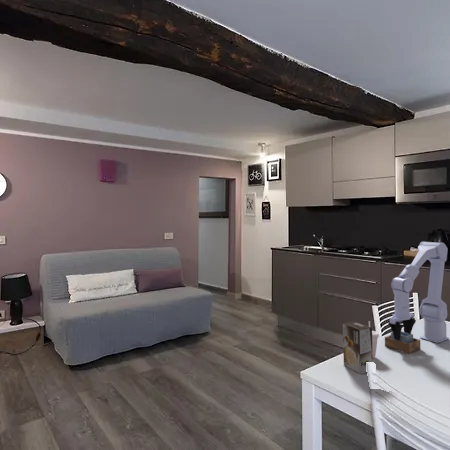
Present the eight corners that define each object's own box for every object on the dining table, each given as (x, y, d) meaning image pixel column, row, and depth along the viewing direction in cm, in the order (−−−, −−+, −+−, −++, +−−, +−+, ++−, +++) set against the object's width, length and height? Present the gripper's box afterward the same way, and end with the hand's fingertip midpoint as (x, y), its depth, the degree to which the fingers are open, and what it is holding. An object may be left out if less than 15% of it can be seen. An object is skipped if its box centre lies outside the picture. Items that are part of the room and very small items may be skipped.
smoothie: (375, 353, 144) (375, 319, 144) (381, 359, 138) (380, 324, 137) (359, 353, 145) (359, 319, 144) (364, 359, 138) (363, 324, 138)
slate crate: (397, 342, 154) (397, 330, 154) (413, 347, 148) (413, 334, 148) (390, 345, 151) (390, 332, 151) (406, 350, 145) (406, 336, 145)
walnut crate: (396, 342, 156) (396, 333, 156) (420, 349, 147) (420, 339, 147) (384, 346, 152) (384, 337, 152) (408, 354, 143) (408, 344, 143)
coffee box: (374, 371, 128) (373, 327, 127) (360, 374, 125) (359, 330, 125) (355, 361, 136) (354, 320, 136) (342, 364, 134) (341, 323, 133)
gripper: (402, 301, 156) (403, 331, 156) (382, 306, 149) (383, 338, 149) (418, 304, 150) (418, 336, 151) (398, 310, 143) (399, 343, 143)
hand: (402, 337), depth 149 cm, fingers open, 7 cm apart
